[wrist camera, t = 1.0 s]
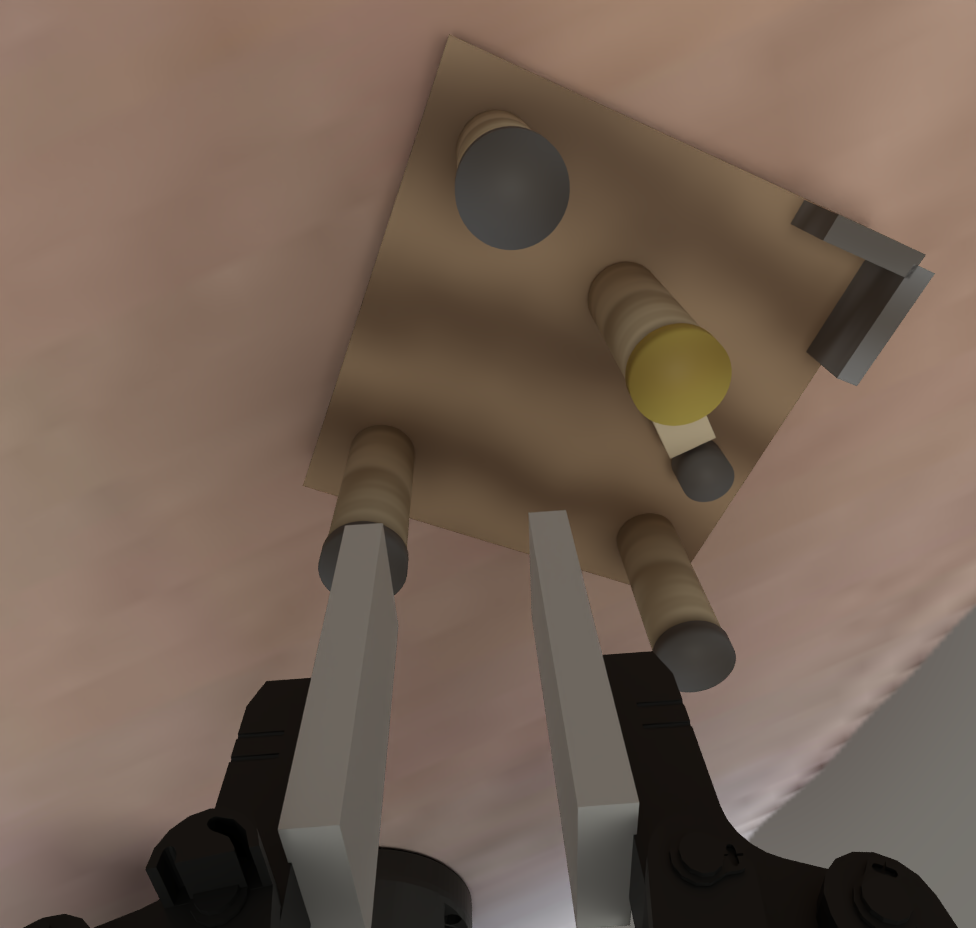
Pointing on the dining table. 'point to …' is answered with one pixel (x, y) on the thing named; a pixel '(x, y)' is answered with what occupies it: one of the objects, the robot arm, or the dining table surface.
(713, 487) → the swing leg
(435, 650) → the dining table surface
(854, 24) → the dining table surface
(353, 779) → the robot arm
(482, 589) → the dining table surface
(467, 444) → the stool seat
